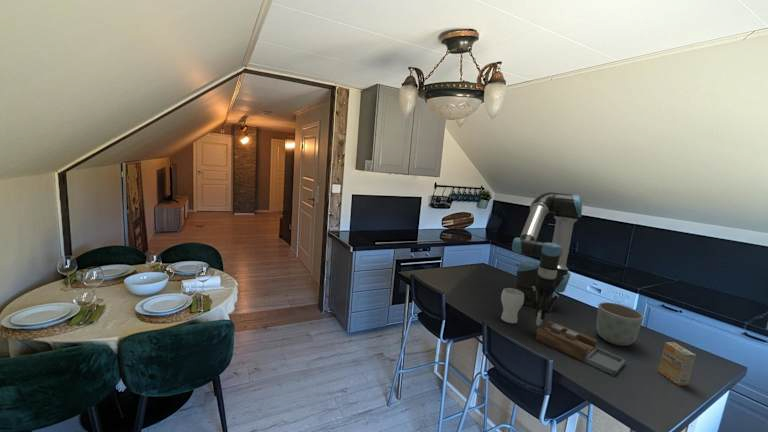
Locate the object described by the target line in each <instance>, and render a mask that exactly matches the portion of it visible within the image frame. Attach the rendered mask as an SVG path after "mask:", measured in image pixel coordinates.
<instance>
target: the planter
mask: <svg viewBox="0 0 768 432" xmlns="http://www.w3.org/2000/svg"><path fill="white" fill-rule="evenodd" d="M596 315H597V317H596V325H595V326H596V330H597V333H598V335H599V336H600V337H601V338H602V339H603V340H604V341H606V342H608V343H610V344H612V345H616V346H619V347H620V346H621V347H626V346H627V347H628V346H630V345H632V344H633V343H634V342H635V341H636V340H637V338H638V336H639V333H640V329H641V326H642V323H643V320H644V315H643V314H642V313H641V312H640V311H638V310H637V309H634V308H631V307H629V306H626V305H623V304H620V303H614V302H606V301H605V302H604V301H603V302H600V303H599V304H598V306H597V314H596Z"/></svg>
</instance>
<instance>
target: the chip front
mask: <svg viewBox="0 0 768 432" xmlns="http://www.w3.org/2000/svg"><path fill="white" fill-rule="evenodd" d="M571 330H572V329H571ZM571 330H568V331H566V332H565V338H567V339H570V340H572V341H574V342H577V340H578V335H579V333H580V332H579V333H576V332H577V331H576V332H574V331H575V330H574V331H571Z"/></svg>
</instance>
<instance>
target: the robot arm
mask: <svg viewBox="0 0 768 432" xmlns="http://www.w3.org/2000/svg"><path fill="white" fill-rule="evenodd" d="M529 211H530V212H529V214H528V217H527V219H526V222H525V224H524V227H523V229H522V230H521V231H522V232H521V234H520V236H519V237H514V238H513V240H512V244H511V249H512V250H511V251H513V252H514V253H517V254H520V255H525V256H533V257H535V258H540V259H539V262H537V261H531V260H530V261H529V260H527V261H526V260H525V261H522V262H519V263H518V264H517V265H518V266H517V268H516V275H515V284H514V286H513V288H512V289H517V290H519V291H521V292H523V294H524V303H523V305H522V306H527V307H528V306H529V307H532V309H535V318H536V322H535V325H536V326H538V327H541V326H542V324H543V320H545V318H546V314H550V313H551V311H552V309H553V307H554V305H555V303H556V301H557V300H558V299H559V298H560V296H561V295H559V294H557V293H565V291H566V288H567V286H568V283H569V280H570V276H571V272H569V268H568V267H567V261H568V256H569V250H570V245H571V239H572V234H573V230H574V229H573V228H574V224H575V223H576V222H577V221H578V220H579V218H581V217H582V216H583V215H582V214H583V213H582V211H583V198H582V196H581V195H577V194H571V193H562V192H551V191H550V192H546V193H542V194H541V195H539V196H538V197H536V198H535V199H533V200H532V202H531V204H530V207H529ZM548 214H553V217H554V219H555V225H554V226H555V227H554V230H553V231H554V233H553V235H552V236H553V237H552V241H551V242H543V241H537V239H538V236H539V233H540V230H541V227H542V225H543V222H544V219H545V217H546V216H547V215H548ZM556 292H557V293H556ZM550 297H552V298H551V299H550ZM549 299H550V301H549ZM548 303H549V304H548Z"/></svg>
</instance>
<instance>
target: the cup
mask: <svg viewBox="0 0 768 432" xmlns="http://www.w3.org/2000/svg"><path fill="white" fill-rule="evenodd" d="M500 300H501V304H502V310H503V311H502V313H501V317H500V319H501V320H502V321H503V322H505V323H509V324H517V323H518V313H519V310H520V309H521V308H522V307H523V306H524V305H523V303H524V294H523V292H521V291H519V290H517V289H513V288H511V287H507V288H503V290H502V292H501V296H500Z"/></svg>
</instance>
